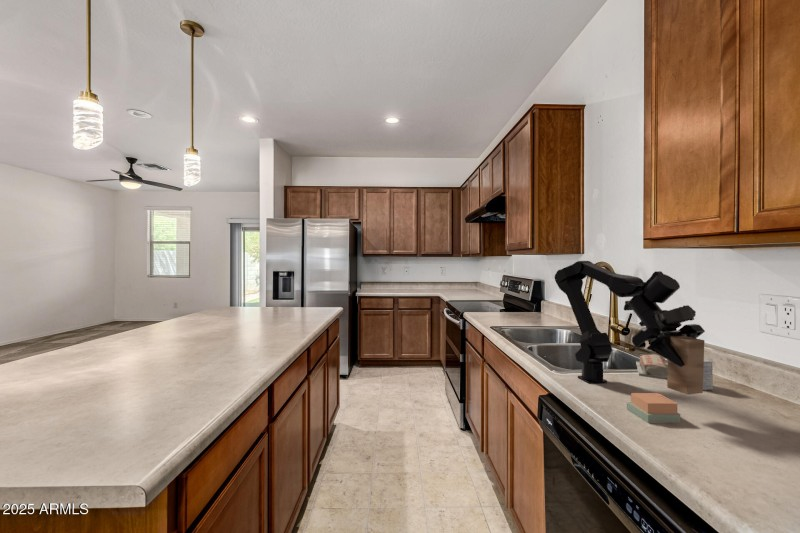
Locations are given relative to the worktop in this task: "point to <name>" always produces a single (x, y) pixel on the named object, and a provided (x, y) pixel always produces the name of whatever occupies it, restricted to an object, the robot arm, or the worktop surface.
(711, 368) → the medicine box
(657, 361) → the packaged product
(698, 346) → the walnut block
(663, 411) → the tower top
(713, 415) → the worktop surface
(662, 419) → the tower base
